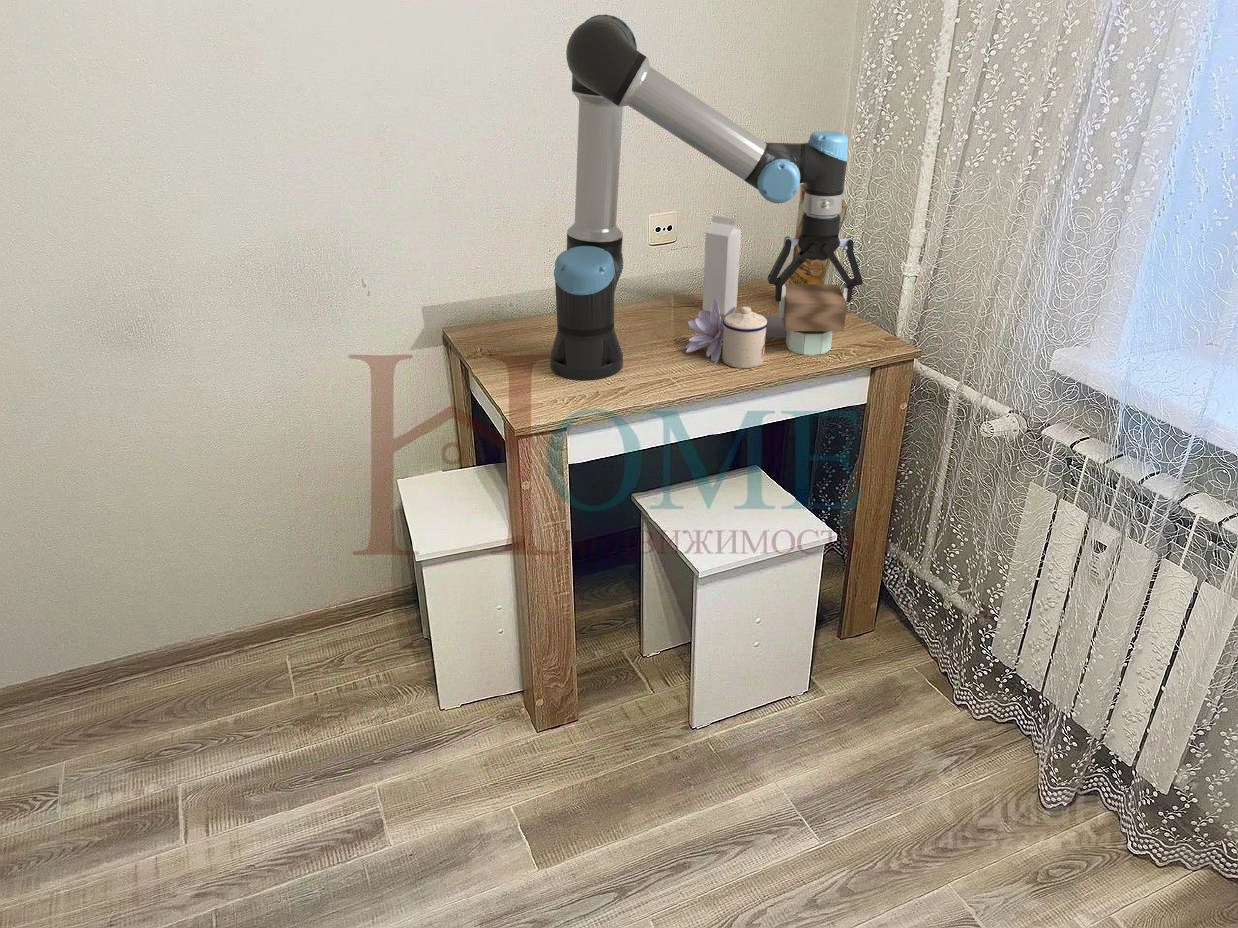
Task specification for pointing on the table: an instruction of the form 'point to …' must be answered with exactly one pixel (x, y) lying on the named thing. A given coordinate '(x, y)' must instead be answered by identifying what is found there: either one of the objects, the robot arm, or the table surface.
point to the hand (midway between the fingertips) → (811, 316)
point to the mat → (775, 327)
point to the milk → (721, 264)
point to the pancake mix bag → (810, 268)
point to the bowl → (809, 342)
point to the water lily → (708, 331)
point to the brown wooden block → (814, 308)
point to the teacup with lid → (744, 339)
